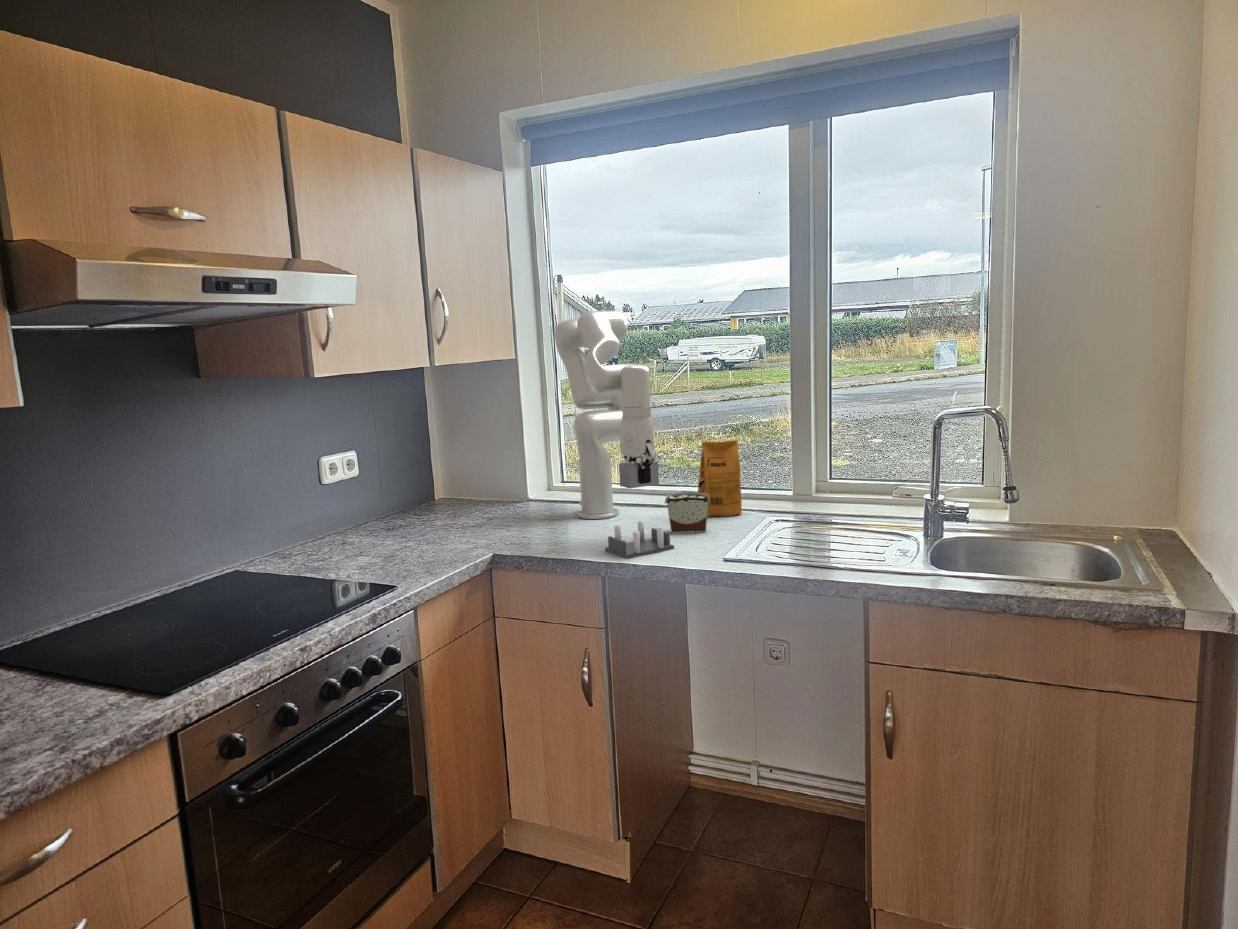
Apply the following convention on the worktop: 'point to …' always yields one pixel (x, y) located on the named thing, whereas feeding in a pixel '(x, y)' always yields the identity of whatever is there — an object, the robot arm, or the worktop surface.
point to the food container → (687, 511)
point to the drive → (636, 474)
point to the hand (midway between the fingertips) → (639, 481)
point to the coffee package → (721, 477)
